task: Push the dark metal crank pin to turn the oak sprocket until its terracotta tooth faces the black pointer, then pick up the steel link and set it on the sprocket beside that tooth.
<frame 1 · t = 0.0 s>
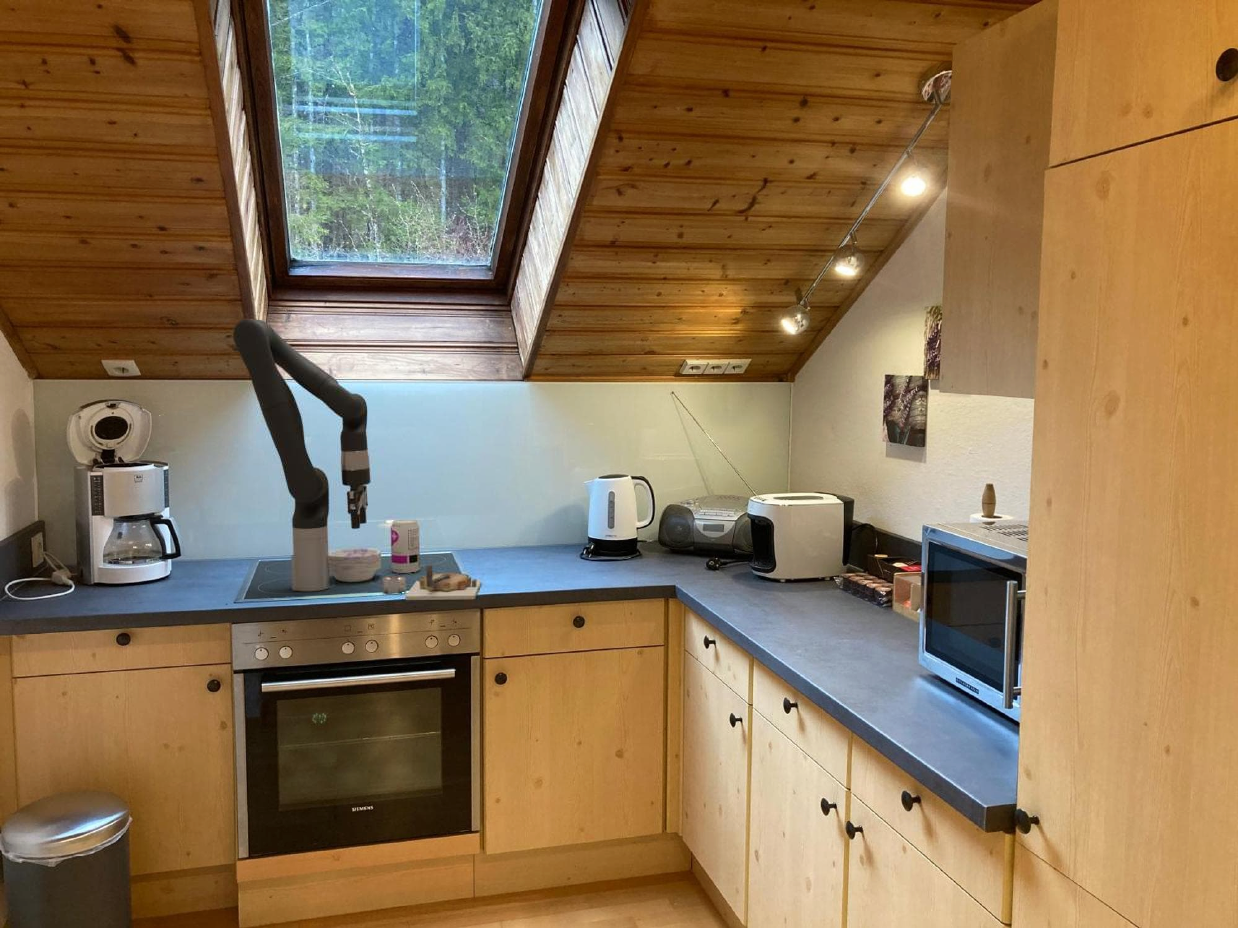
hand: (359, 525, 281), 17 cm above the cooktop, tool pointing down, fingers open, 8 cm apart
paper bowls: (354, 579, 295), on the cooktop
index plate: (445, 589, 280), on the cooktop
supplement can: (405, 571, 305), on the cooktop
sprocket: (444, 573, 278), point 5 cm above the cooktop, hinge at 0.0°
link: (394, 592, 277), on the cooktop
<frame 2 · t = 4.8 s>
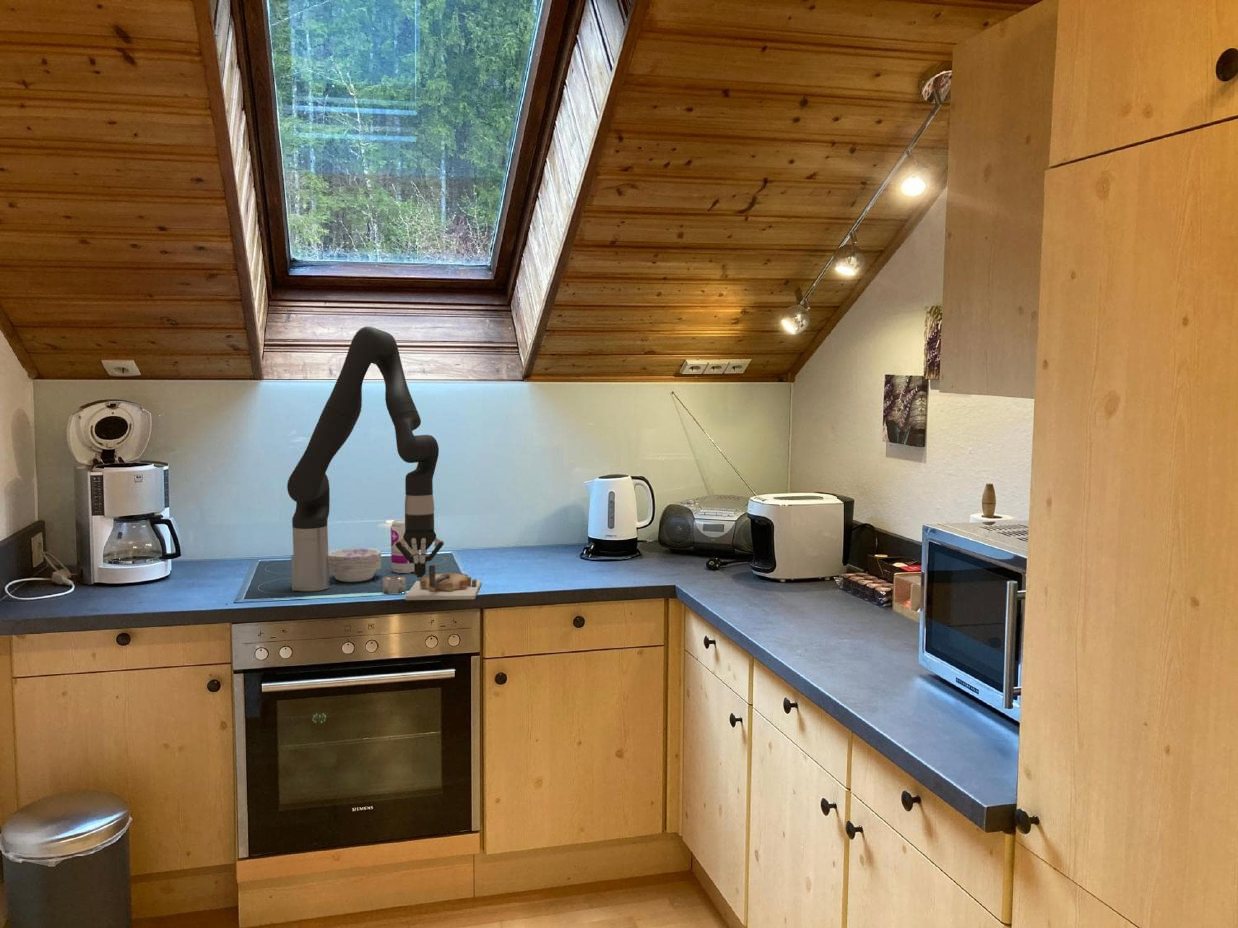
hand: (420, 576, 270), 6 cm above the cooktop, tool pointing down, fingers closed
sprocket: (445, 573, 278), point 5 cm above the cooktop, hinge at 5.1°, touching gripper
everything else where it was.
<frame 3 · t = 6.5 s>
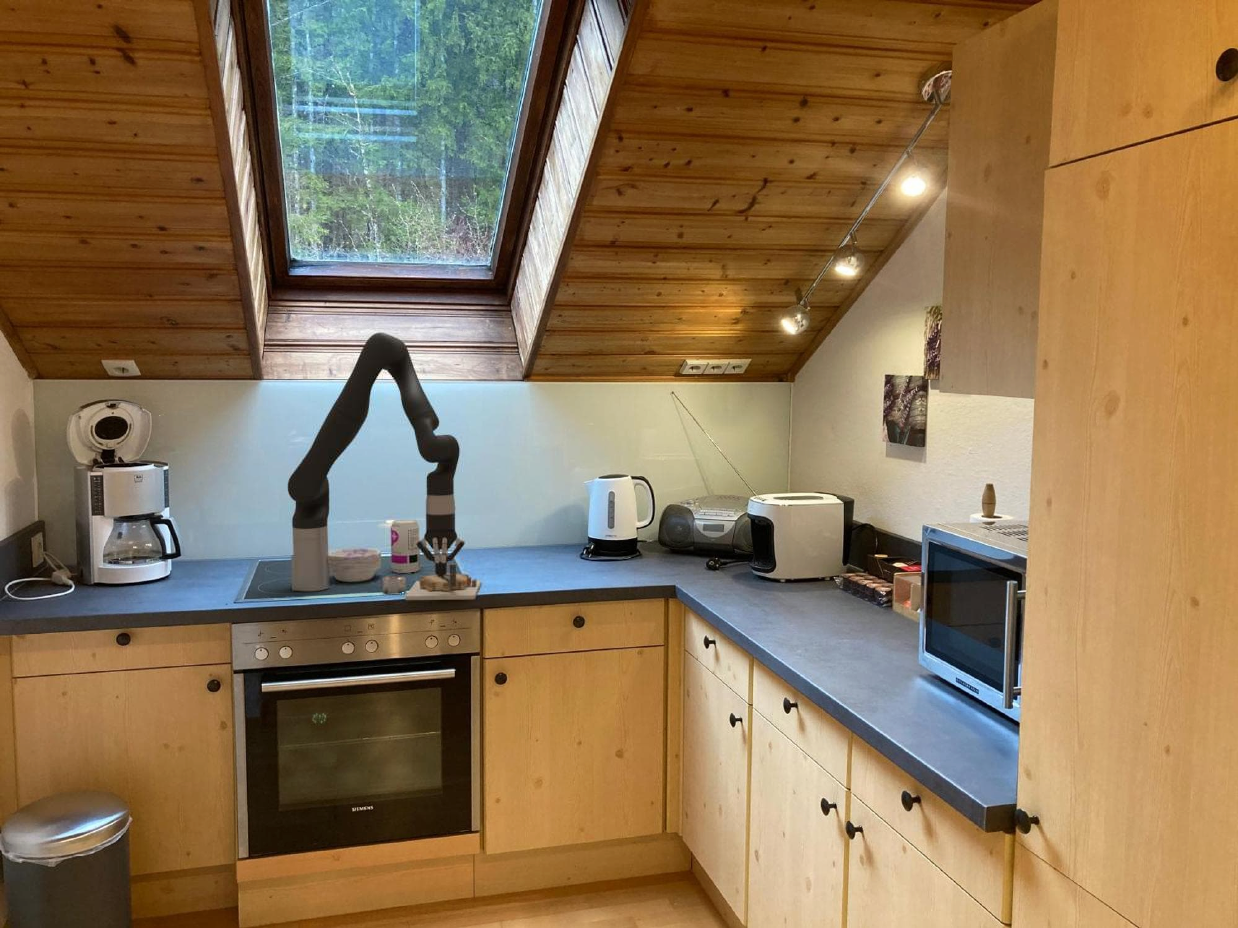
hand: (441, 576, 271), 6 cm above the cooktop, tool pointing down, fingers closed
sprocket: (447, 572, 279), point 5 cm above the cooktop, hinge at 40.2°, touching gripper
everything else where it was.
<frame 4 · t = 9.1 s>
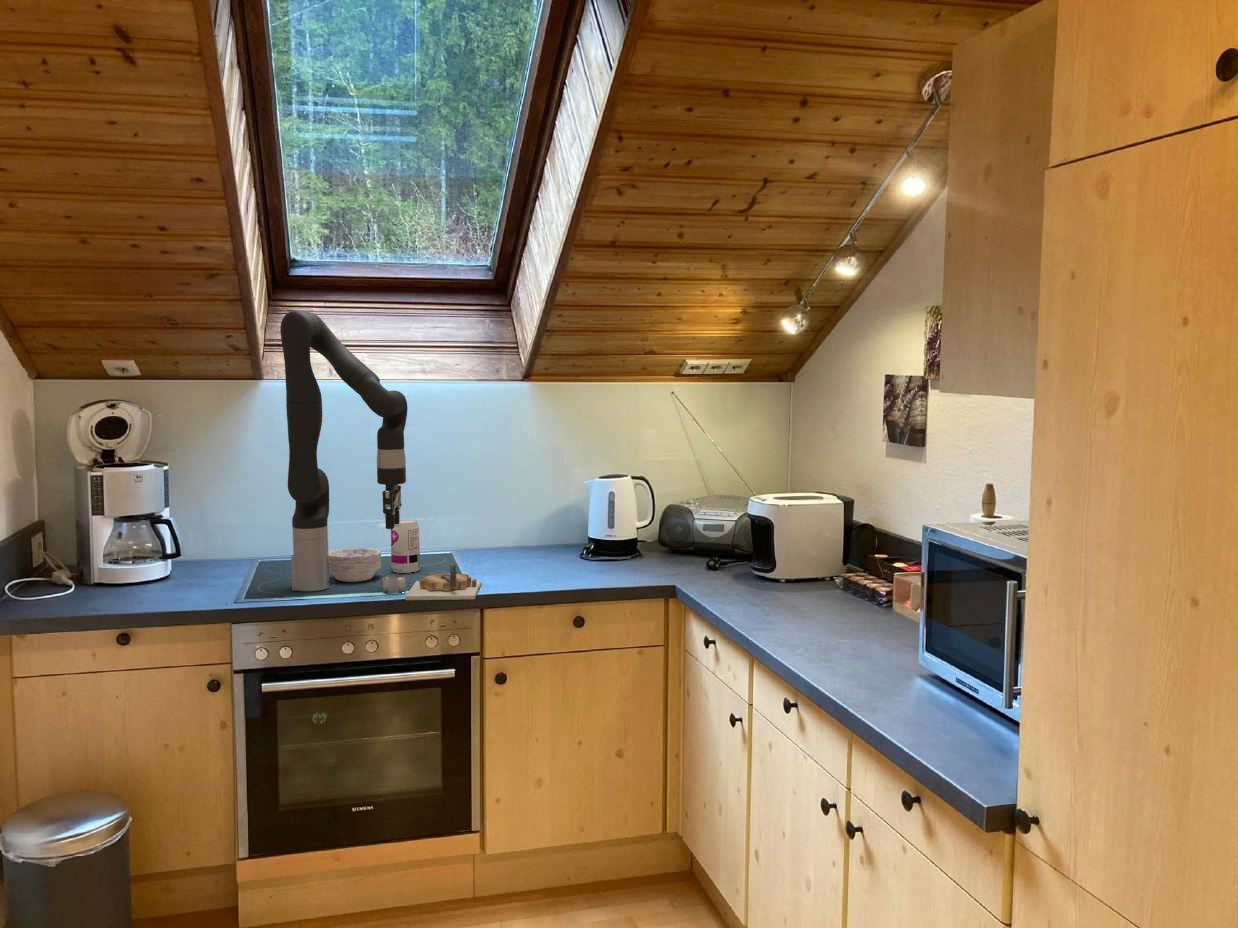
hand: (392, 526, 276), 18 cm above the cooktop, tool pointing down, fingers open, 7 cm apart
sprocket: (447, 572, 279), point 5 cm above the cooktop, hinge at 40.4°
everything else where it was.
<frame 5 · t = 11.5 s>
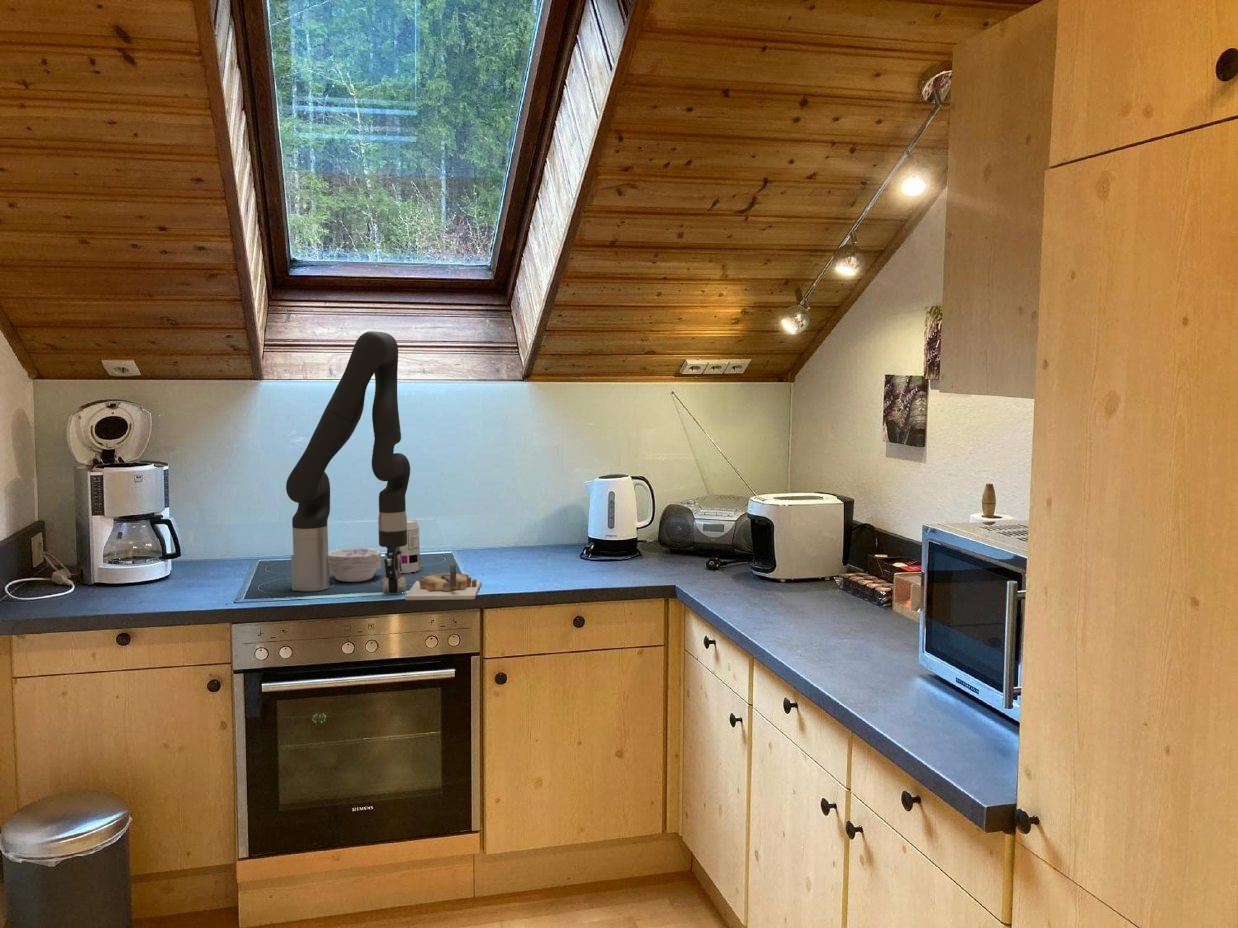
hand: (394, 590, 277), 0 cm above the cooktop, tool pointing down, fingers closed on link, 3 cm apart
link: (394, 592, 277), on the cooktop, touching gripper
everything else where it was.
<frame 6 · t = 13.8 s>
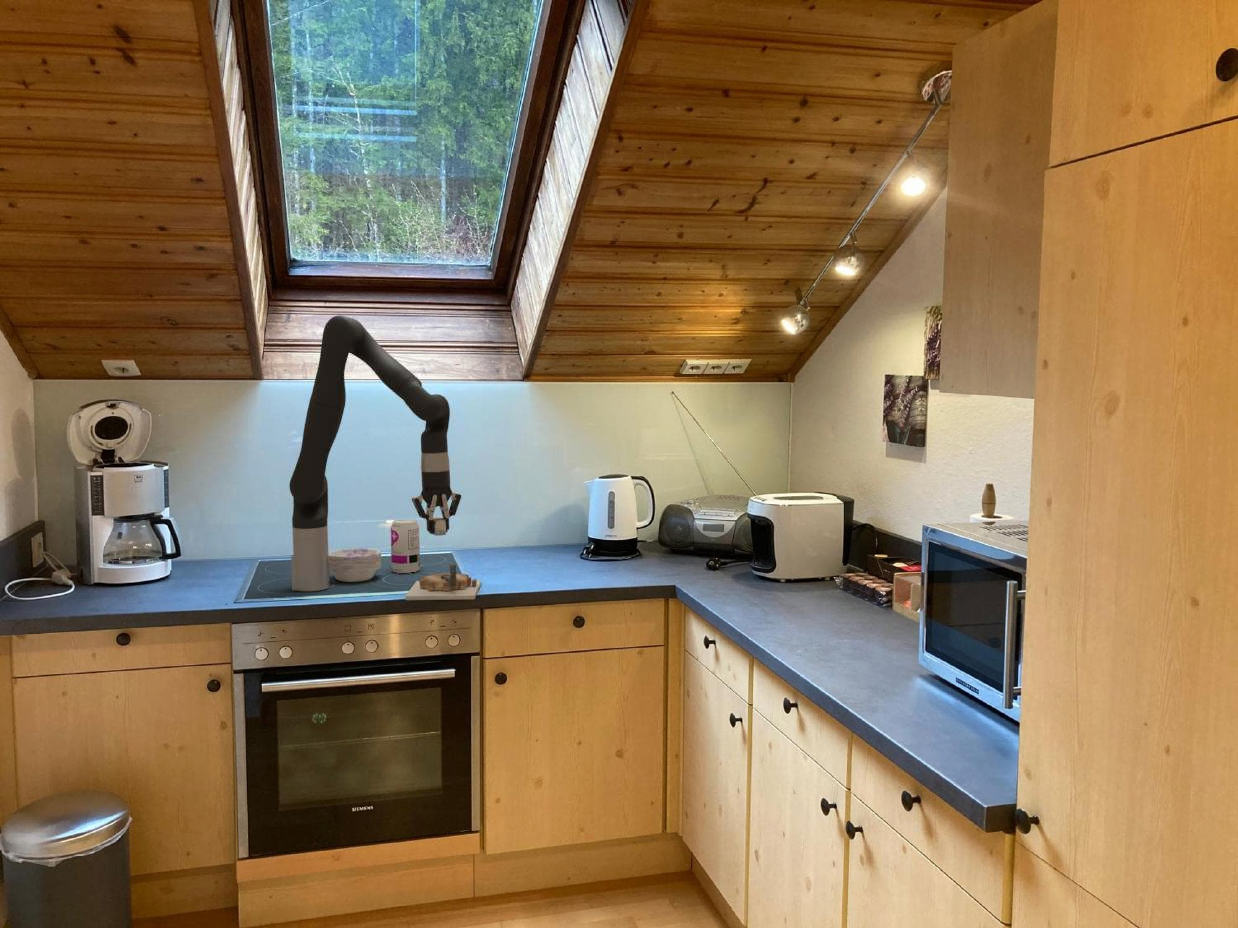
hand: (438, 532, 277), 16 cm above the cooktop, tool pointing down, fingers closed on link, 3 cm apart
link: (438, 533, 277), point 16 cm above the cooktop, touching gripper
everything else where it was.
when the fingers open (5 cm above the cooktop, at t = 16.0 s): link drops 1 cm, resting on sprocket.
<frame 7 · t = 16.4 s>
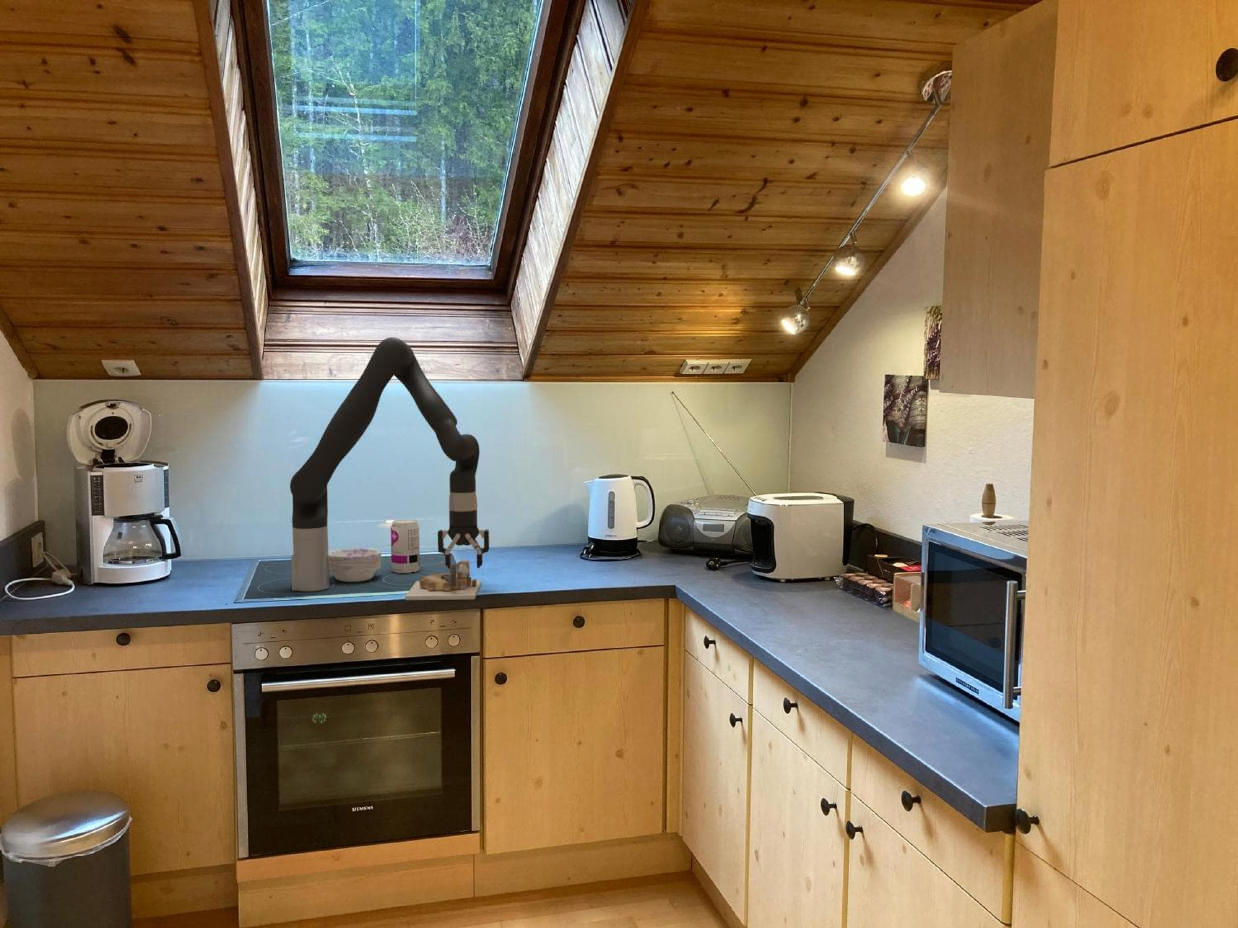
hand: (464, 567, 280), 6 cm above the cooktop, tool pointing down, fingers open, 7 cm apart
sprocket: (447, 572, 279), point 5 cm above the cooktop, hinge at 40.4°, touching link
link: (463, 577, 281), point 3 cm above the cooktop, touching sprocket
everything else where it was.
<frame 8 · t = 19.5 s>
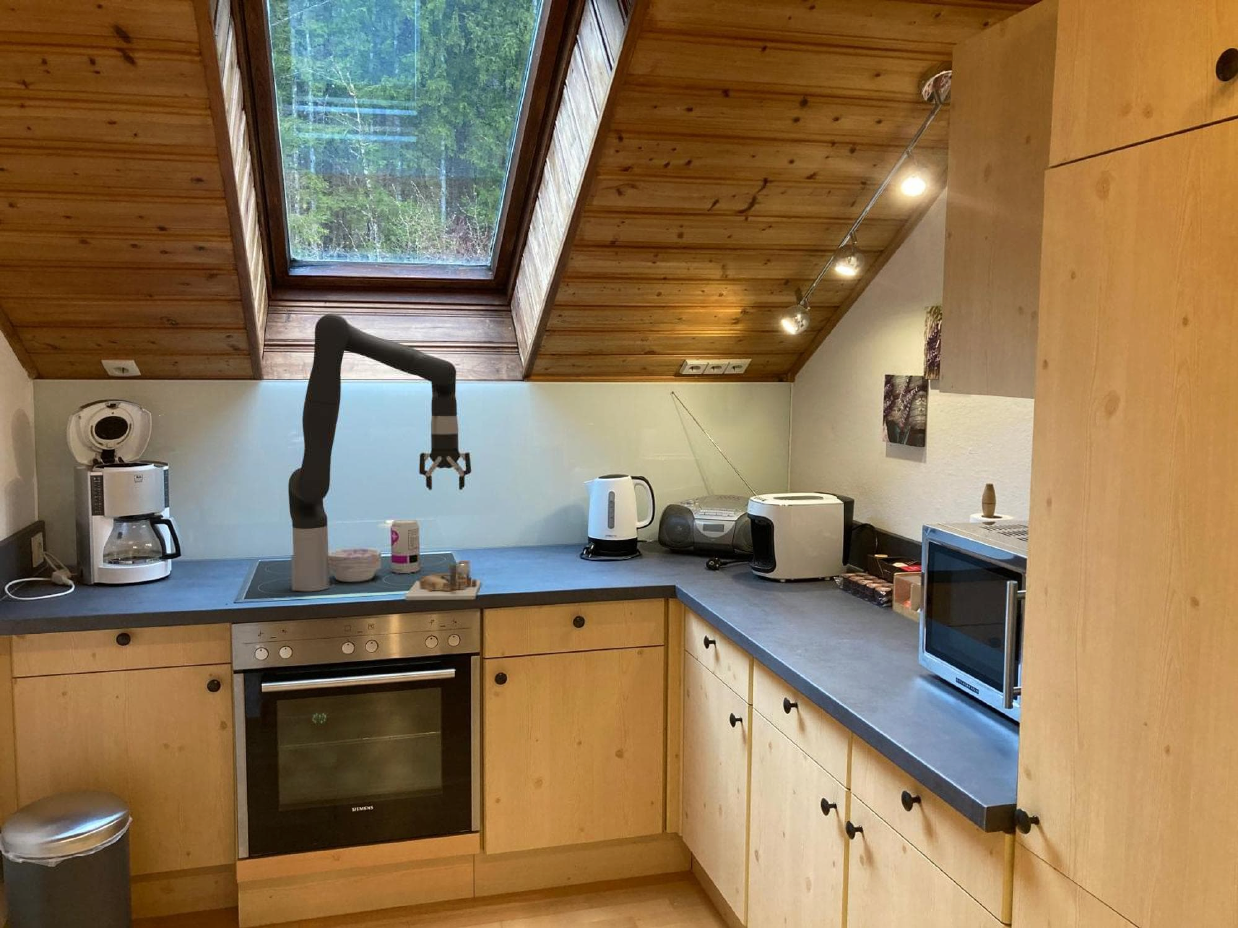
hand: (445, 489, 289), 26 cm above the cooktop, tool pointing down, fingers open, 8 cm apart
nothing on the cooktop moved.
at the end: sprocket at +40° (first picture: +0°); link 0.8 cm from the target spot on the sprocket, point 3.3 cm above the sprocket's base; link touching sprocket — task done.
